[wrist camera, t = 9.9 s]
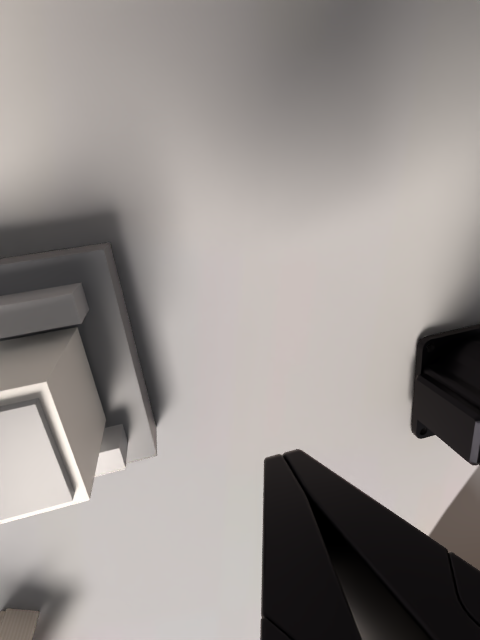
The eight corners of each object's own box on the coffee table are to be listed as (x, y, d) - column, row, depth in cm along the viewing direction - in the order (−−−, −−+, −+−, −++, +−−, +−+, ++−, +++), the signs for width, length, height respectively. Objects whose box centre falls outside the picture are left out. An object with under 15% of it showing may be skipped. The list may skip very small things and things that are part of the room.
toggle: (77, 326, 12) (43, 387, 9) (106, 419, 14) (88, 508, 10) (-15, 344, 12) (-97, 417, 8) (25, 438, 13) (-28, 540, 9)
